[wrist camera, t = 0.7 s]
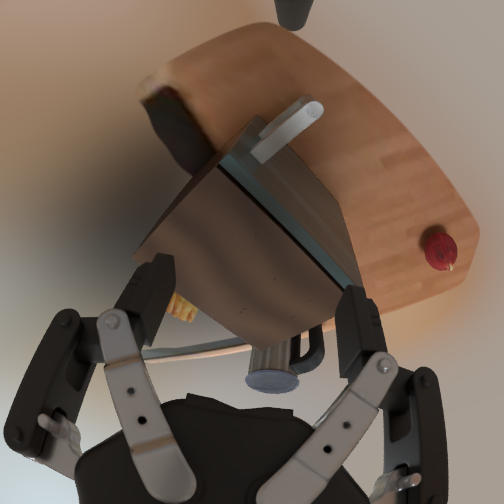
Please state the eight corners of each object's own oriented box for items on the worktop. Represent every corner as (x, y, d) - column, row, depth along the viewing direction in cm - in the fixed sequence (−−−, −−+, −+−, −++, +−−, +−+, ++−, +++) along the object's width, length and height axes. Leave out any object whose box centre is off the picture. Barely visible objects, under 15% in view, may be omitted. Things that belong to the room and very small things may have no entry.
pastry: (155, 298, 55) (148, 311, 52) (161, 277, 52) (154, 290, 49) (195, 315, 57) (191, 329, 54) (205, 296, 53) (200, 311, 50)
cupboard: (250, 120, 33) (215, 166, 18) (332, 208, 39) (355, 306, 24) (191, 177, 39) (131, 257, 24) (271, 251, 45) (260, 351, 30)
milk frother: (278, 337, 58) (273, 398, 46) (218, 301, 53) (201, 366, 41) (329, 305, 51) (335, 373, 39) (267, 260, 46) (258, 332, 34)
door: (296, 81, 29) (306, 85, 14) (375, 178, 35) (429, 260, 20) (251, 119, 33) (218, 163, 18) (333, 208, 39) (357, 303, 24)
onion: (412, 238, 40) (429, 270, 33) (437, 216, 37) (458, 245, 30) (427, 257, 42) (443, 288, 35) (450, 237, 38) (470, 266, 32)
